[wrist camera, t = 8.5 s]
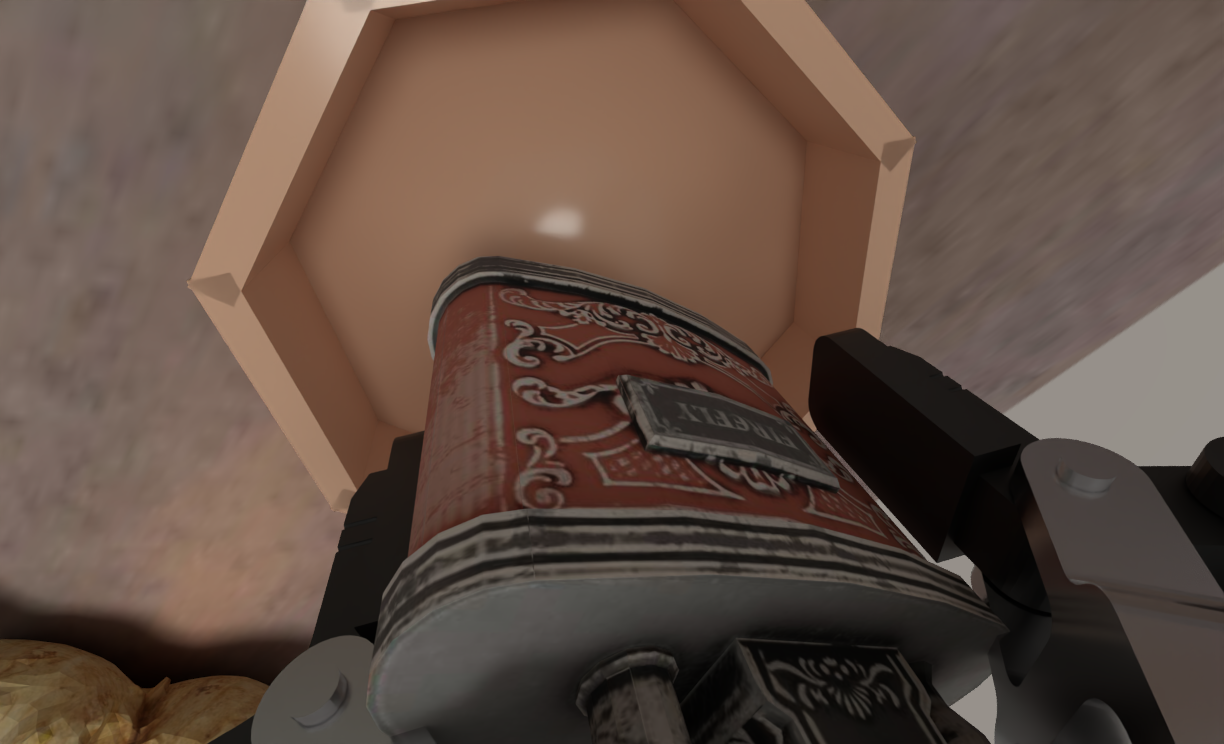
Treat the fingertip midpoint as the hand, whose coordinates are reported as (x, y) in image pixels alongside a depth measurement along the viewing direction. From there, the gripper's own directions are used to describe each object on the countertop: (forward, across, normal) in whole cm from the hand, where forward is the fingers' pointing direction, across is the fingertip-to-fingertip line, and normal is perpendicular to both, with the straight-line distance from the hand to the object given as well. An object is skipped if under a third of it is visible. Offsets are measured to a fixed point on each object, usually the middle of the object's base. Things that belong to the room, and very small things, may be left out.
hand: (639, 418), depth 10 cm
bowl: (+7, 0, 0) cm, 7 cm away
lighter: (+3, 0, 0) cm, 3 cm away
